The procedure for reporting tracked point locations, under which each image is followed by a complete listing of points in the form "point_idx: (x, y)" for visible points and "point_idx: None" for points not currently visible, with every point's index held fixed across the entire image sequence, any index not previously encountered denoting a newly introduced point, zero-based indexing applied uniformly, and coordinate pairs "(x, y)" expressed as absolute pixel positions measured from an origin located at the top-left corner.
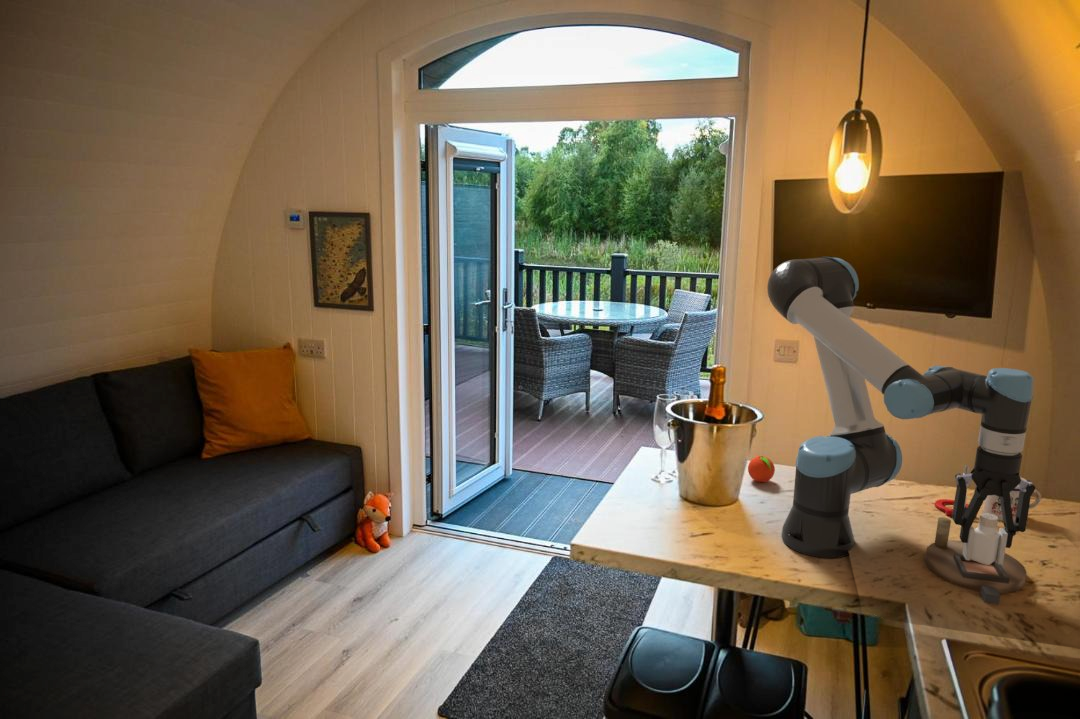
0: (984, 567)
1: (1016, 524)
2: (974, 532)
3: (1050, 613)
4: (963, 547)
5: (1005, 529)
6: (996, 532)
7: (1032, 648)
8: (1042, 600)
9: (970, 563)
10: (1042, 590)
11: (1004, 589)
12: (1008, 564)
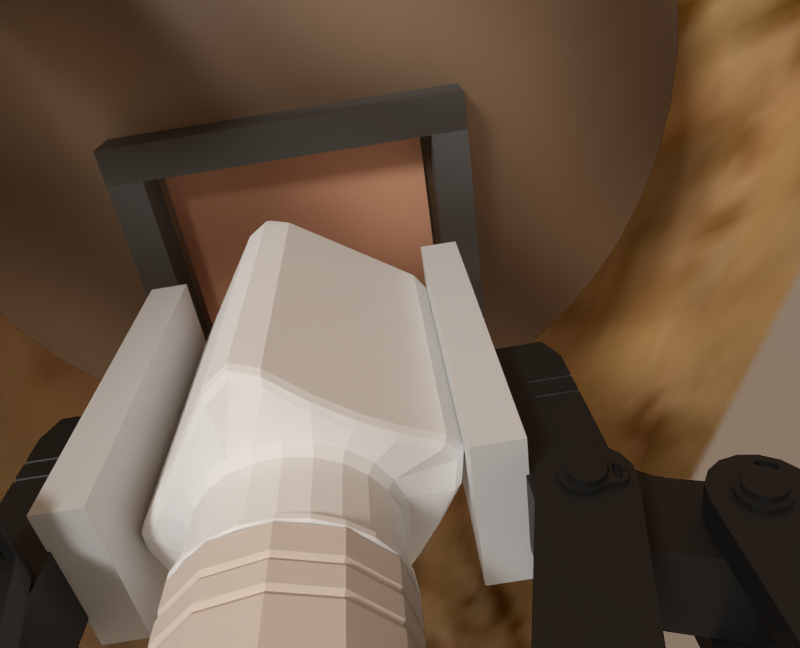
0: (350, 212)
1: (706, 598)
2: (162, 561)
3: (658, 372)
4: (134, 323)
5: (533, 523)
6: (414, 525)
7: (490, 637)
8: (669, 250)
9: (246, 190)
10: (722, 110)
11: None
12: (554, 51)
